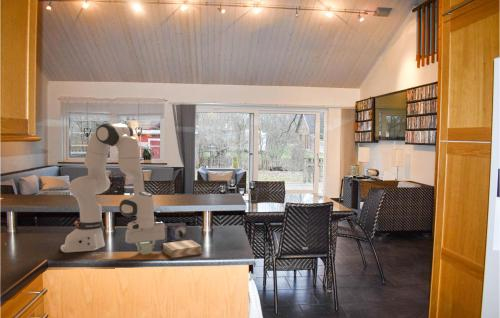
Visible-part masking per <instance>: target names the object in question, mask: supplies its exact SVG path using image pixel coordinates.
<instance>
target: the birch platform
mask: <svg viewBox="0 0 500 318" xmlns="http://www.w3.org/2000/svg"><path fill="white" fill-rule="evenodd" d="M162 251H163V252H164V253H165V254H166V255H167V256H169V257H170V258H171V259H173V258H175V259H176V258H180V257H182V258H183V257H187V256H189V257H190V256H195V255H200V254H202V245H200V244H199V243H197V242H196V241H194V240H193V239H188V240H187V239H186V241H178V242H170V243H167V242H164V243H162Z"/></svg>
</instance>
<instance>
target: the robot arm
mask: <svg viewBox="0 0 500 318" xmlns="http://www.w3.org/2000/svg"><path fill="white" fill-rule="evenodd" d="M114 146H115V147H116V149H117V160H118V161H117V163H118V168H119V170H120V171H121V172H122V173H123V174H124V175H127V176H128V177H130V178H131V181H132V187H133V196H131V197H128V198H124V199H123V200H121V201H120V203H119V207H118V208H119V212H120V214H121V215H123V216H124V217H126V218H127V217H134V216H135V217H136V219H135V220H132V221H130V222H128V223H127V229H126V230H125V240H124V241H125V243H127V244H135V245H136V247H137V251H139V252H140V250H141V246H140V243H141V242H151V241H152V242H151V244H152V250H154V247H155V245H156V243H157V241H160V240H161V241H162V240H165V238H166V231H165V228H166V223H165V222H163V221H155V216H154V215H155V214H154V212H155V211H154V210H155V200H154V195H153V194H152V193H150V192H147V191H146V182H145V175H144V171H143V168H142V163H141V151H140V145H139V141H138V139H137V138H136V137H134V129H133V128H132V127H131V126H130V125H129V124H127V123H124V122H123V123H122V122H121V123H120V122H110V123H109V122H106V123H102V124H100V125H99V126H98V127H97V128H96V131H94V132H92V133H91V135H90V137H89V140H88V143H87V148H86V152H85V156H84V165H85V167H86V168H87V175H84V176H83V175H82V176H78V177H76V178H74V179H72V180H71V181H70V182H69V187H68V190H69V193H70V194H71V195H72V197H74V198H75V200H76V201H77V203H78V208H79V221H77V220H75V221H74V222H73V223H74V226H75V229H74V230H73V231H72V232H70V233H69V234H67V236H66V237H65V242H64V244H62V245H61V246H60V251H61V252H63V253H77V252H78V253H79V252H91V251H96V250H98V249H100V248H104V247H105V246H106V243H105V239H104V234H103V230H104V229H103V228H104V222H103V221H104V220H103V218H102V216H103V214H102V213H103V212H102V205H101V204H100V203H98V201H97V198H96V195H100V194H103V193H106V192H107V191H108V190H109V189H110V187H111V180H110V178H109V177H108V175H107V170H106V169H107V162H108V157H109V153H110V148H111V147H114Z"/></svg>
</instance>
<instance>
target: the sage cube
mask: <svg viewBox="0 0 500 318" xmlns="http://www.w3.org/2000/svg"><path fill="white" fill-rule="evenodd" d="M140 246H141V250H140V251H139V253H140V254H141V255H149V253H150V254H152V253H153V249H152V242H151V241H146V242H139V247H140Z"/></svg>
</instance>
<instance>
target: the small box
mask: <svg viewBox="0 0 500 318" xmlns="http://www.w3.org/2000/svg"><path fill="white" fill-rule="evenodd" d="M186 240H187V224H186V222H175V223H173V222H172V223H171V222H169V223H166V243H170V242H178V241H186Z"/></svg>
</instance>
